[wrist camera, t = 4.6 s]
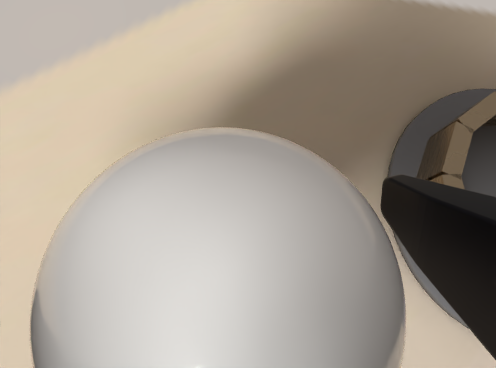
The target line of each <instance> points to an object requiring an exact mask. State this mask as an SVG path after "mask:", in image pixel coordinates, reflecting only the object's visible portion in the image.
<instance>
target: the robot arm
mask: <svg viewBox="0 0 496 368" xmlns="http://www.w3.org/2000/svg"><path fill="white" fill-rule="evenodd" d="M381 212H382V214H383V216H384V218H385V219H386V221H387V222H388V224H389V225H390V227H391V228H392V230H393V231H394V233H395V234H396V236H397V237H398V239H399V240H400V242H401V243H402V245H403V246H404V248H405V249H406V251H407V252H408V254H409V255H410V256H411V258H412V259H413V261H414V262H415V263H416V265H417V266H418V267H419V268H420V270H421V271H422V272H423V273H424V275H425V276H426V277H427V278H428V279H429V281H430V282H431V283H432V284H433V285H434V287H435V288H436V289H437V290H438V291H439V293H440V294H441V295H442V296H443V297H444V299H445V300H446V301H447V302H448V303H449V305H450V306H451V307H452V308H453V310H454V311H455V312H456V313H457V314H458V316H459V317H460V318H461V319H462V320H463V322H464V323H465V324H466V325H467V326H468V328H469V329H470V330H471V331H472V332H473V334H474V335H475V336H476V337H477V338H478V340H479V341H480V342H481V343H482V344H483V346H484V347H485V348H486V349H487V350H488V352H489V353H490V354H491V355H492V356H493V358H494V359H495V360H496V197H494V196H490V195H486V194H482V193H478V192H473V191H469V190H465V189H461V188H457V187H453V186H448V185H444V184H440V183H436V182H432V181H428V180H424V179H419V178H415V177H411V176H407V175H403V174H399V175H395V176H391V177H387V178H386V179H385V180H384V181H383V186H382V196H381Z"/></svg>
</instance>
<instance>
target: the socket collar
mask: <svg viewBox="0 0 496 368" xmlns="http://www.w3.org/2000/svg"><path fill="white" fill-rule="evenodd" d="M480 126H496V92H495V91H494V92H493V93H491V94H490V95H488V96H487V97H485V98H484V99H482V100H481V101H479V102H478V103H476V104H475V105H473V106H472V107H470V108H469V109H467V110H466V111H464V112H463V113H462V114H460V115H459V116H458V117H456V118H455V119H454V120H452V121H451V122H450V123H448V124H447V125H446V126H444V127H443V128H442V129H440V130H439V131H438V132H436V133H435V134H434V135H432V136H431V137H430V139H429V140H428V141H427V144H426V147H425V151H424V154H423V157H422V160H421V163H420V167H419V170H418V173H417V176H416V178H419V179H424V180H428V181H432V182H436V183H440V184H444V185H448V186H453V187H457V188H461V189H464V185H463V181H462V178H461V176H462V172H463V168H464V165H465V161H466V157H467V153H468V150H469V146H470V142H471V139H472V135H473V132H474V131H475V130H476V129H478V128H479V127H480Z"/></svg>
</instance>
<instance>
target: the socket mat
mask: <svg viewBox="0 0 496 368" xmlns="http://www.w3.org/2000/svg"><path fill="white" fill-rule="evenodd" d="M494 91H495V92H496V89H473V90H466V91H462V92H457V93H454V94H451V95H449V96H446V97H444V98H441V99H440V100H438V101H436V102H435V103H433V104H431V105H430V106H429V107H427V108H426V109H425V110H424V111H422V112H421V113H420V114H419V115H418V116H417V117H415V118H414V119H413V121H412V122H411V123H410V124H409V125H408V126H407V128H406V129H405V130H404V132H403V134H402V135H401V137H400V139H399V140H398V142H397V145H396V147H395V149H394V152H393V154H392V158H391V162H390V166H389V171H388V177H391V176H395V175H399V174H403V175H407V176H411V177H415V178H416V176H417V173H418V170H419V167H420V163H421V160H422V157H423V154H424V151H425V147H426V144H427V141H428V140H429V139H430V137H431V136H432V135H434V134H435V133H436V132H438V131H439V130H440V129H442V128H443V127H444V126H446V125H447V124H448V123H450V122H451V121H452V120H454V119H455V118H456V117H458V116H459V115H460V114H462V113H463V112H464V111H466V110H467V109H469V108H470V107H472V106H473V105H475V104H476V103H478V102H479V101H481V100H482V99H484V98H485V97H487V96H488V95H490V94H491V93H493V92H494ZM461 178H462V181H463V185H464V189H465V190H469V191H473V192H478V193H482V194H486V195H490V196H494V197H496V126H480V127H479V128H478V129H476V130H475V131H474V132H473V135H472V139H471V142H470V146H469V150H468V153H467V157H466V161H465V165H464V168H463V172H462V176H461ZM393 233H394V231H393ZM394 236H395V239H396V241H397V244H398V246H399V249H400V251H401V254H402V256H403V257H404V259H405V261H406V263H407V265H408V267H409V269H410V270H411V272H412V273H413V275H414V276H415V278H416V279H417V281H418V282H419V284H420V285H421V286H422V288H423V289H424V290H425V291H426V292H427V293H428V295H429V296H430V297H431V298H432V299H433V300H434V301H435V302H436V303H437V304H438V305H439V306H440V307H441V308H442V309H443V310H444V311H445V312H447V313H448V314H449V315H450V316H451V317H453V318H454V319H455V320H457V321H458V322H460V323H461V324H462V325H464V326H465V327H467V328H468V326H467V325H466V324H465V323H464V322H463V320H462V319H461V318H460V317H459V316H458V314H457V313H456V312H455V311H454V310H453V308H452V307H451V306H450V305H449V303H448V302H447V301H446V300H445V299H444V297H443V296H442V295H441V294H440V293H439V291H438V290H437V289H436V288H435V287H434V285H433V284H432V283H431V282H430V281H429V279H428V278H427V277H426V276H425V275H424V273H423V272H422V271H421V270H420V268H419V267H418V266H417V265H416V263H415V262H414V261H413V259H412V258H411V256H410V255H409V254H408V252H407V251H406V249H405V248H404V246H403V245H402V243H401V242H400V240H399V239H398V237H397V236H396V234H395V233H394Z"/></svg>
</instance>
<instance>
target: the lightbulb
mask: <svg viewBox="0 0 496 368" xmlns="http://www.w3.org/2000/svg"><path fill="white" fill-rule="evenodd" d="M405 335H406V305H405V295H404V288H403V282H402V277H401V273H400V269H399V265H398V262H397V259H396V255H395V253H394V250H393V247H392V245H391V242H390V240H389V238H388V235H387V233H386V231H385V229H384V227H383V225H382V223H381V222H380V220H379V218H378V216H377V215H376V213H375V211H374V210H373V208H372V207H371V206H370V204H369V203H368V201H367V200H366V199H365V197H364V196H363V195H362V194H361V192H360V191H359V190H358V189H357V188H356V187H355V186H354V185H353V184H352V183H351V181H350V180H349V179H348V178H346V177H345V176H344V175H343V174H342V173H341V172H340V171H339V170H338V169H336V168H335V167H334V166H333V165H331V164H330V163H329V162H327V161H326V160H325V159H323V158H322V157H320V156H319V155H317V154H315V153H314V152H312V151H310V150H309V149H307V148H305V147H303V146H301V145H299V144H297V143H294V142H292V141H290V140H287V139H285V138H282V137H279V136H276V135H273V134H269V133H266V132H261V131H257V130H251V129H245V128H235V127H209V128H199V129H193V130H187V131H183V132H178V133H175V134H171V135H168V136H165V137H162V138H159V139H156V140H154V141H151V142H149V143H147V144H145V145H143V146H141V147H139V148H137V149H135V150H133V151H131V152H130V153H128V154H126V155H125V156H123V157H122V158H120V159H119V160H117V161H116V162H114V163H113V164H112V165H110V166H109V167H108V168H107V169H105V170H104V171H103V172H102V173H101V174H99V175H98V176H97V177H96V178H95V179H94V180H93V181H92V182H91V183H90V184H89V185H88V186H87V187H86V188H85V189H84V190H83V191H82V192H81V194H80V195H79V196H78V197H77V198H76V199H75V201H74V202H73V203H72V205H71V206H70V207H69V209H68V210H67V212H66V213H65V215H64V216H63V218H62V219H61V221H60V223H59V224H58V226H57V228H56V230H55V231H54V233H53V235H52V237H51V239H50V242H49V244H48V246H47V248H46V251H45V253H44V256H43V258H42V261H41V264H40V267H39V270H38V274H37V278H36V282H35V286H34V291H33V297H32V303H31V312H30V348H31V357H32V364H33V368H401V364H402V359H403V353H404V346H405Z"/></svg>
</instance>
